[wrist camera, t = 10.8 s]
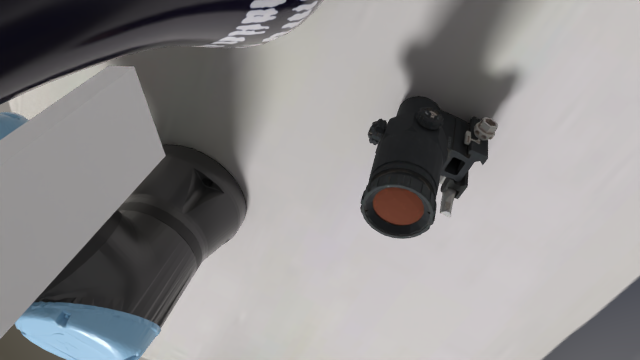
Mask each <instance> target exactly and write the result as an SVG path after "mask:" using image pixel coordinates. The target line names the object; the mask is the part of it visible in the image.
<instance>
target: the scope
mask: <svg viewBox="0 0 640 360" xmlns="http://www.w3.org/2000/svg"><path fill="white" fill-rule="evenodd" d="M372 124H373V125H372V126H371V128H370V130H369V132H368V137H369V138H370V139H369V141H370V143H373V144H374V145H376V144H378V146H377V149H376V152H375V153H376V155H375V159H374V163H373V167H372V170H371V174H370V178H369V183H368V185H367V187H366V190H365V191H364V193H363V196H362V199H361V204H362V205H361V212H362V214H363V216H364V219H365V220H366V222H367V223H368V224H369V225H370V226H371V227H372V228H373V229H374V230H376V231H378V232H379V233H381V234H383V235H385V236H389V237H393V238H411V237H416V236H418V235H421V234H422V233H424V232H426V231H427V230H428V229H429V228H430V225H432V224H433V222H434V219H435V213H436V201H435V200H436V195H437V190H438V186H439V183H440V184H442V186H441V192H443V194H442V201H441V208H440V213H441V214H443V215H445V216H448V217H451V209H452V204H453V200H454V198H457V199H458V198H459V197H460V196H461V194H462V193H463V192H464V191H465V189H466V188H467V186H468V170H469V169H470V168H471V166H472V165H473V163H474V162H476V161H481V163H482V165H483V164H484V163H485V161H486V160H487V159H488V139H492V138H493V137H494V135H495V131H496V129H497V127H498V124H497V123H496V122H495V121H494V120H493V119H490V118H488V117H484V118H483V119H482V120H480V119H478V118H476V117H472V118H471V120H470V125H469V124H468V123H466V122H465V121H463V120H462V119H460V118H457V117H456V118H455V116H453V115H451V114H449V113H446V112H444V111H442V110H440V108H439V107H438V106H437V104H436V103H435V102H433V101H432V100H430V99H428V98H426V97H419V96H418V97H412V98H409V99H407V100H406V101H404V102H403V103H402V104H401V105H400V107H399V110H398V113H397V116H396V117H394V118H391V119H390V120H389V122H388V124H387V122H386V121H385V120H382V119H379V120H378V121H376V122H373V123H372Z"/></svg>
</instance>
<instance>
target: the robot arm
mask: <svg viewBox="0 0 640 360" xmlns="http://www.w3.org/2000/svg"><path fill="white" fill-rule="evenodd" d="M245 215H246V204H245V199H244V196H243V193H242V191H241V189H240V187H239V186H238V184H237V183H236V181H235V180H234V178H233V177H232V176H231V175H230V174H229V173H228V172H227V171H226V170H225V169H224V168H223V167H222V166H221V165H220V164H218V163H217V162H216V161H214V160H213V159H211V158H210V157H208V156H206V155H204V154H202V153H200V152H198V151H196V150H193V149H190V148H187V147H183V146H177V145H164V146H162V144H161V141H160V138H159V135H158V133H157V130H156V127H155V124H154V121H153V118H152V116H151V113H150V110H149V107H148V104H147V101H146V99H145V96H144V93H143V90H142V87H141V84H140V82H139V79H138V76H137V73H136V70H135V67H134V66H108V67H106V68H105V69H103V70H102V71H100V72H99V73H97V74H96V75H94V76H93V77H92V78H90V79H89V80H87V81H86V82H84V83H83V84H81V85H80V86H78V87H77V88H76V89H74V90H73V91H71V92H70V93H68V94H67V95H65V96H64V97H62V98H61V99H59V100H58V101H57V102H55V103H54V104H52V105H51V106H49V107H48V108H46V109H45V110H43V111H42V112H41V113H39V114H38V115H36V116H35V117H33V118H32V119H30V120H28V119H26V118H25V117H23V116H22V115H19V114H17V113H12V112H1V113H0V339H1V337H2V336H3V335H4V334H5V333H6V332H7V331H8V330H9V328H10V327H11V326H12V325H13V324H14V323H15V325H16V327H17V329H19V330H21V333H22V335H23V336H25V337H26V338H28V339H29V340H30V341H31V342H33V343H34V344H36V345H38V346H39V347H41V348H43V349H45V350H47V351H49V352H51V353H53V354H55V355H57V356H59V357H62V358H64V359H67V360H138V359H139V358H140V357H141V356H142V354H143V353H144V352H145V350H146V349H147V348H148V346H149V345H150V343H151V342H152V341H153V339H154V338H155V337H156V336H157V335H158V334H159V333H160V331H161V327H162V325H163V324H164V322H165V321H166V319H167V317H168V316H169V314H170V313H171V311H172V309H173V308H174V306H175V304H176V303H177V301H178V300H179V298H180V296H181V295H182V293H183V292H184V290H185V288H186V287H187V285H188V283H189V282H190V280H191V279H192V277H193V275H194V274H195V272H196V271H197V269H198V267H199V266H200V264H201V263H202V261H203V260H204V259H206V258H207V257H208V256H209V255H211V254H212V253H213V252H214V251H216V250H217V249H218V248H219V247H220V246H221V245H223V244H225V243H226V242H228V241H229V240H230V239H232V238H233V236H234V235H235V234H236V233H237V231H238V229H239V228H240V226H241V224H242V223H243V221H244V218H245Z"/></svg>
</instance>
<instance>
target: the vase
mask: <svg viewBox="0 0 640 360" xmlns="http://www.w3.org/2000/svg"><path fill="white" fill-rule="evenodd" d="M322 2H323V0H0V104H2V103H4V102H6V101H9V100H11V99H13V98H15V97H17V96H20V95H22V94H24V93H26V92H29V91H31V90H33V89H35V88H38V87H40V86H42V85H44V84H47V83H50V82H52V81H55V80H57V79H60V78H63V77H65V76H68V75H71V74H73V73H76V72H79V71H81V70H84V69H87V68H90V67H93V66H96V65H99V64H102V63H105V62H107V61H110V60H113V59H116V58H119V57H123V56H126V55H130V54H134V53H138V52H141V51H145V50H151V49H156V48H162V47H174V46H195V47H212V48H242V47H252V46H256V45H261V44H265V43H267V42H269V41H272V40H274V39H276V38H279V37H281V36H283V35H285V34H287V33H289V32H290V31H292V30H293V29H295V28H296V27H298V26H299V25H300V24H302V23H303V22H304V21H305V20H306V19H307V18H308V17H309V16H310V15H311V14H312V13H313V12H314V11H315V10H316V9H318V7H319V6H320V4H321V3H322Z"/></svg>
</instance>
